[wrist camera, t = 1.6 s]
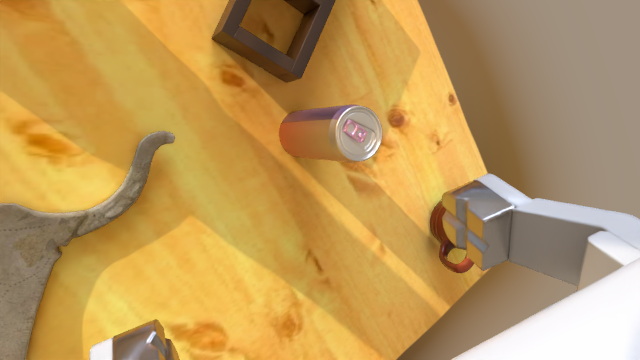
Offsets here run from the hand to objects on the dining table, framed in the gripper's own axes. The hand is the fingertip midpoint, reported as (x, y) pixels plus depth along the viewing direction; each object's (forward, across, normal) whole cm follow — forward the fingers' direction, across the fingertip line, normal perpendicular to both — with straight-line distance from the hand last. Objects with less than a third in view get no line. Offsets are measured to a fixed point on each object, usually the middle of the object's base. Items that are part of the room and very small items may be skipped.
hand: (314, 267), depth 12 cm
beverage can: (+42, -11, +19) cm, 47 cm away
